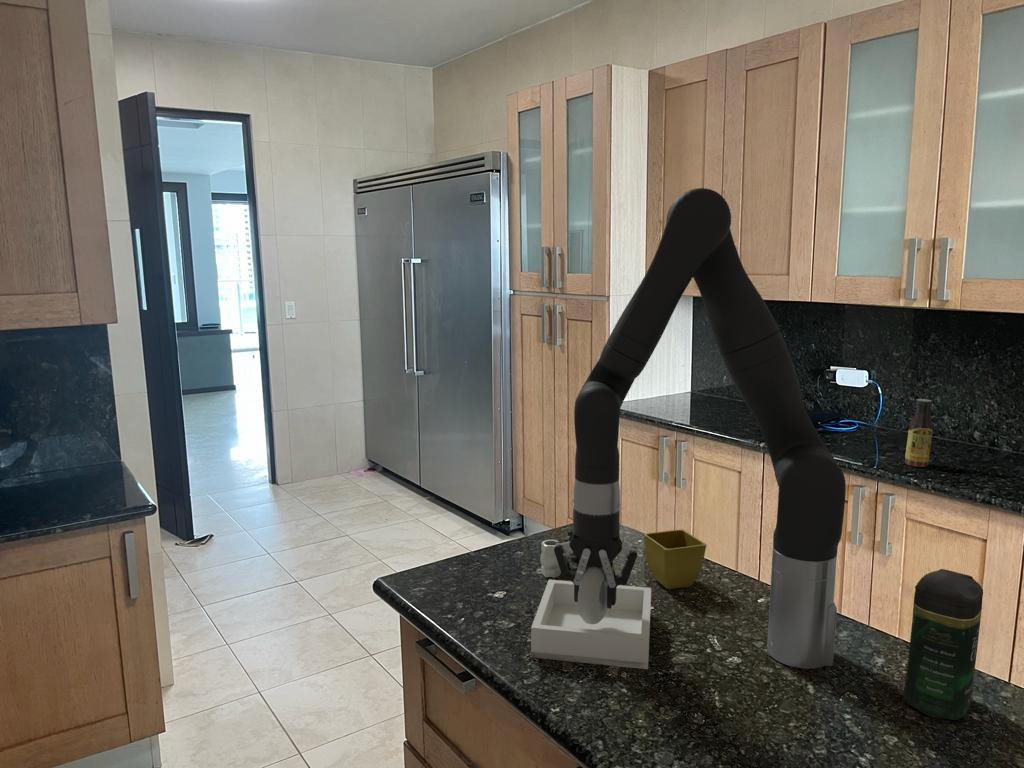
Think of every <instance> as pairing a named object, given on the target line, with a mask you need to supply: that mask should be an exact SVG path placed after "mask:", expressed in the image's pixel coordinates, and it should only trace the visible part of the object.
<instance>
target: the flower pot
mask: <svg viewBox="0 0 1024 768" xmlns="http://www.w3.org/2000/svg"><path fill="white" fill-rule="evenodd" d="M643 536H644V548H645V559H646V561H647V565H648V568H649V570H650V572H651V574H652V576H653V578H654V580H655V581H657V582H658V583H659V584H660V585H662V586H663V587H664V588H665V589H667V590H673V589H680V588H687V587H692V585H693V584H694V583H695V582H696V581H697V578H698V577H699V575H700V573H701V571H702V568H703V565H704V559H705V554H706V548H707V544H706V543H705V542H704V541H702V540H700V539H699V538H698V537H696V536H694V535H693V534H691V533H689V532H688V531H686V530H684V529H672V530H670V529H669V530H663V531H656V532H654V531H653V532H648V533H644V534H643Z"/></svg>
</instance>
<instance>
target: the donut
mask: <svg viewBox="0 0 1024 768" xmlns="http://www.w3.org/2000/svg"><path fill="white" fill-rule="evenodd" d="M607 586H608V582H607V578H606V575H605V573H604V569H603V568H600V567H597V566H592V567H586V568H585V572H584V574H583V576H582V578H581V582H580V586H579V591H578V610H579V614H580V616H581V618H582V619H583V621H585V622H586V623H588V624H597V623H599V622H600V621H601V620H602V619H603V618H604V616H605V614H606V613H607V610H608V608H607Z"/></svg>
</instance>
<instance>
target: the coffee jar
mask: <svg viewBox="0 0 1024 768" xmlns="http://www.w3.org/2000/svg"><path fill="white" fill-rule="evenodd" d="M914 588H915V590H914V595H913V596H914V597H913V606H912V619H911V620H912V621H911V629H910V639H909V641H910V642H909V649H908V657H907V658H908V659H907V667H906V674H905V685H904V690H903V691H904V693H903V698H904V700H905V702H906V703H907V704H908V705H910V706H911V707H913V708H914V709H915V710H917V711H919V712H920V713H922V714H925V715H927V716H929V717H932V718H935V719H945V720H953V721H958V720H960V719H962V718H963V717H965V715H966V714H967V712H968V711H969V709H970V708H971V704H972V694H973V685H974V677H975V676H974V675H975V669H976V662H977V653H978V646H979V635H980V627H981V619H982V612H983V598H984V597H983V595H984V589H983V587H982V586H981V584H980V583H979V582H977V580H975V579H974V577H973V576H972V575H969V574H964V573H961V572H957V571H953V570H948V569H945V568H940V569H939V570H938V569H937V570H934V571H931V572H929V573H926V574H924V575H923V576H922V577H921V578H920V579H919V581H918V582H917V583H916V585H915V586H914Z"/></svg>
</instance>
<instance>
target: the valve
mask: <svg viewBox="0 0 1024 768" xmlns="http://www.w3.org/2000/svg"><path fill="white" fill-rule="evenodd" d="M567 536H568V537H569V538H567V539H565V540H564V542H568V541H570V540H571V538H572V536H573V530H570V531H568V532H567ZM557 542H558V540H556V539H546V540H544V541H542V542H541V543H540V544H541V545H540V546H541V552H540V553H541V554H540V559H539V560H540V564H541V565H540V566H541V567H540V568H541V571H540V572H541V573H542V574H543V575H544V576H545V578H548V577H554V578H553V579H555V577H556V578H558V577H559V576H562V574H561V570H560V567H559V564H558V561H557V558H556V555H555V552H554V548H555V545H556V543H557ZM564 542H563V543H564ZM569 555H570V556H571V555H573V557H574V559H575V560H576V561H577V560H578V562H580V560H579V559H578V558H577V556H576V555H575V553H574V552H573V551H572V549H571V548H570V549H569V553H568V555H567V557H568V558H569ZM542 574H541V575H542ZM543 575H542V576H543ZM544 576H543V577H544Z"/></svg>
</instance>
